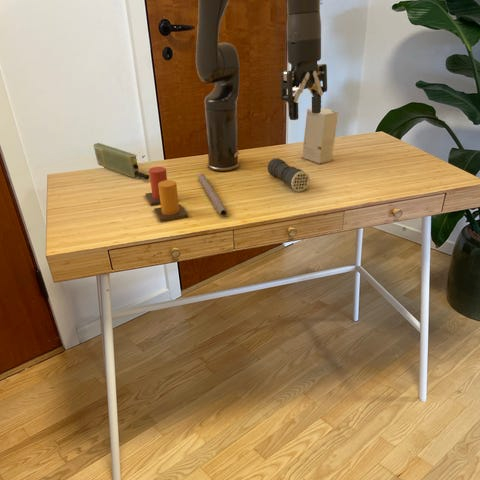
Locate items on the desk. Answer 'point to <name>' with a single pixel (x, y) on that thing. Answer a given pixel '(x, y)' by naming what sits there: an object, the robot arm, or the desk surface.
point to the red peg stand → (155, 184)
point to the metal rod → (213, 195)
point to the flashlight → (288, 174)
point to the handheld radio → (118, 160)
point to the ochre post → (169, 202)
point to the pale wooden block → (319, 135)
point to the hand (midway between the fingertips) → (305, 116)
